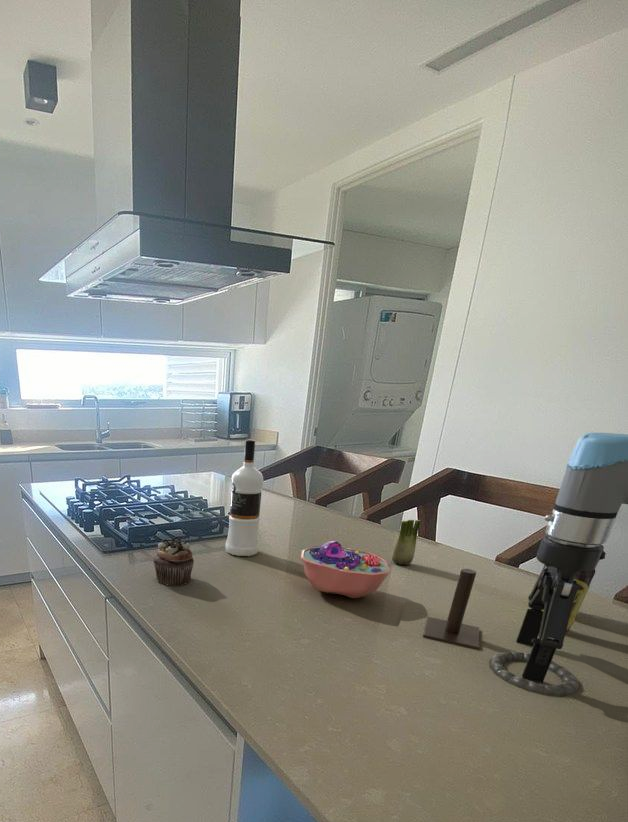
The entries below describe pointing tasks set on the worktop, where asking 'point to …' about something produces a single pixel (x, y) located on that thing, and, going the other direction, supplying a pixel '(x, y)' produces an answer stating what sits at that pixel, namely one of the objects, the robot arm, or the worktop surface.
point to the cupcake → (173, 562)
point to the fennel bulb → (406, 542)
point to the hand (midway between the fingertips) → (528, 660)
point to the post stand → (456, 617)
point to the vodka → (245, 506)
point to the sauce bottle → (580, 593)
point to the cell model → (344, 570)
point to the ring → (564, 689)
